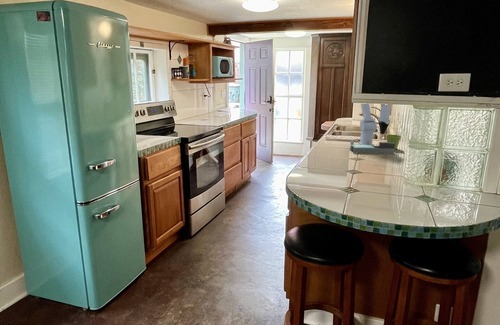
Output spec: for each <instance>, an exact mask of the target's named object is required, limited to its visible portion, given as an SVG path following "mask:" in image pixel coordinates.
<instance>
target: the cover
mask: <svg viewBox="0 0 500 325" xmlns="http://www.w3.org/2000/svg"><path fill="white" fill-rule="evenodd" d="M350 145H351V144H350ZM351 146H353V147H354V148H375V147H373V146H371V145H361V144H354V145H351Z"/></svg>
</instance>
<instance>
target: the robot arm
mask: <svg viewBox="0 0 500 325" xmlns="http://www.w3.org/2000/svg"><path fill="white" fill-rule="evenodd" d="M379 104H380V103H379ZM391 105H392V104H391ZM391 105H385V104H380V110H379V117H378V118H377V121H378V125H379V133H380V134H381V135H385V133H386V131H387V129H388V127H389V125H390V124H391V120H390V115H391ZM360 106H361V112H362V119H361V120H360V122H359V123H360V124H359V129H360V138H359V141H358V144H359V145H366V141H367V140H369V141H370V142H369V145H371V146H375V144H373V138H374V133H375V132H376V130H377V128H378V125H377V123H376V120H375V118H373V117H372V113H371V112H372V111H371V107H370V103H369V104H361V103H360Z"/></svg>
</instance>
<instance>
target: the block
mask: <svg viewBox="0 0 500 325" xmlns="http://www.w3.org/2000/svg"><path fill="white" fill-rule="evenodd" d="M378 146H379V148H393V149H394V146H395V144H394V143H392V142H387V141H379V144H378Z"/></svg>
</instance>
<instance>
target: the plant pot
mask: <svg viewBox="0 0 500 325" xmlns="http://www.w3.org/2000/svg"><path fill="white" fill-rule="evenodd" d="M385 136H386V142H392V143H394V144H395V146H394V149H395V150H397V149H398V148H397V147H399V144H400V141H401V138H402V137H401V136H402V135H400V134H399V135H398V134H386V135H385Z"/></svg>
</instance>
